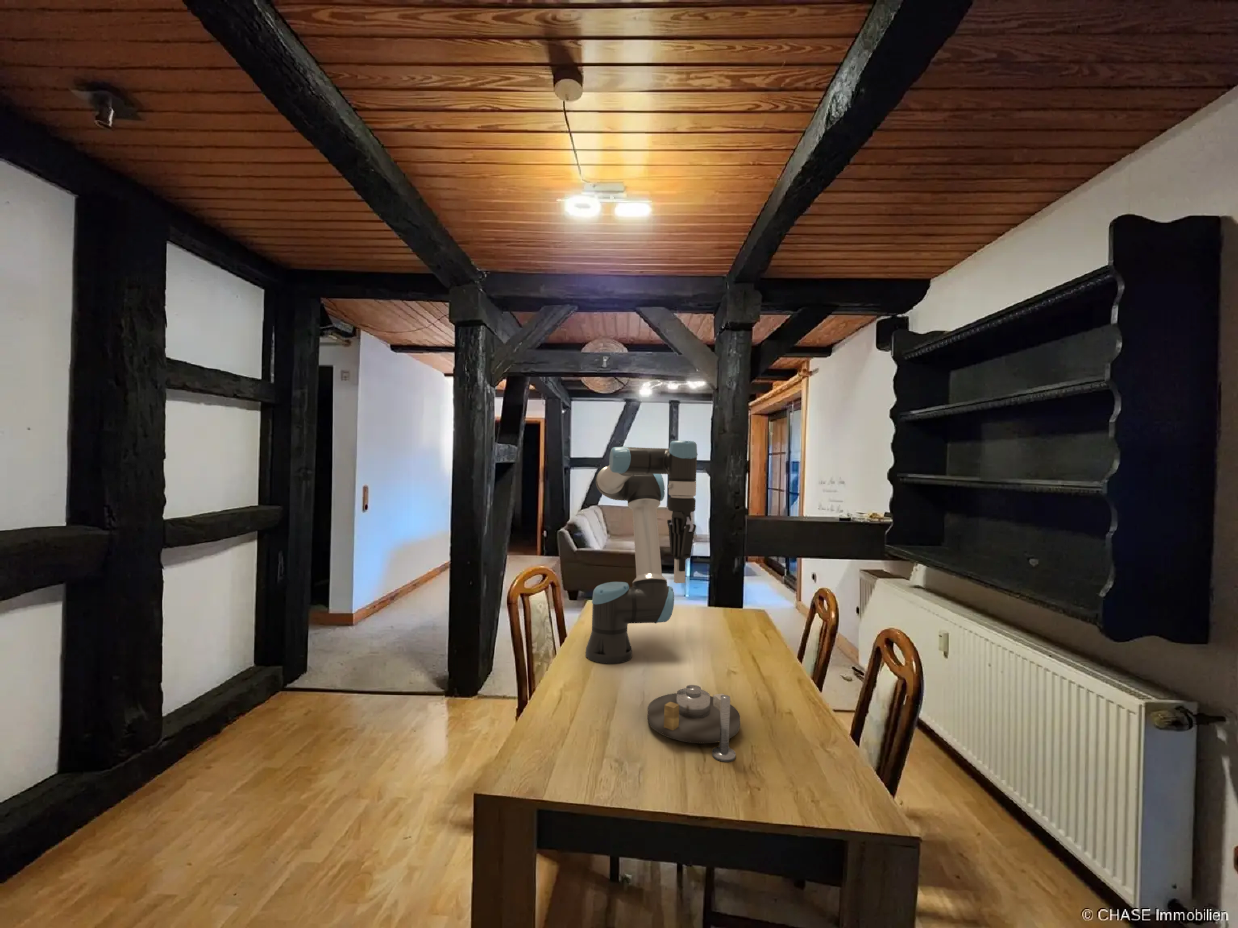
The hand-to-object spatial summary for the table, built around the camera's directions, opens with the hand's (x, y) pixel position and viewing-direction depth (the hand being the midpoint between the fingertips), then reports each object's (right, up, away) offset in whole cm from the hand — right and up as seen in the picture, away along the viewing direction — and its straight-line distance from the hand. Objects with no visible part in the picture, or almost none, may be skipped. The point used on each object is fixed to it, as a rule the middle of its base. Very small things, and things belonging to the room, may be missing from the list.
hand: (679, 582), depth 153 cm
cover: (+1, -27, -19) cm, 33 cm away
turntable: (+1, -29, -20) cm, 35 cm away
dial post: (+6, -31, -33) cm, 45 cm away
